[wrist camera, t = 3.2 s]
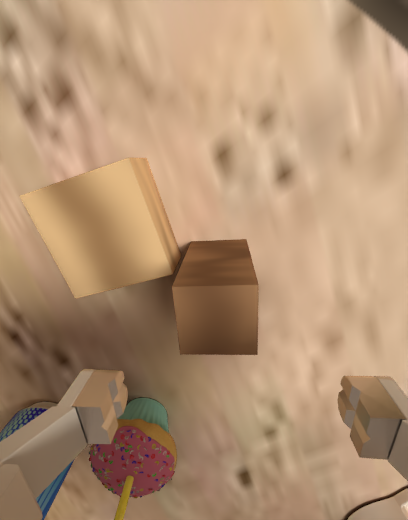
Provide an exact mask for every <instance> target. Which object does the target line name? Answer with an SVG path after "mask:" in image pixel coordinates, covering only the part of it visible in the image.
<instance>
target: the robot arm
mask: <svg viewBox="0 0 408 520" xmlns="http://www.w3.org/2000/svg"><path fill="white" fill-rule="evenodd" d="M124 378H125V377H124V373H123V371H119V370H100V369H84V370H82V371H81V372H80V373H79V374H78V376H77V377H76V379H75V380H74V382H73V383H72V384H71V386H70V387H69V389H68V390H67V392H66V393H65V395H64V396H63V398H62V399H61V400H60V402H59V403H58V405H57V406H52V407H51V408H49V409H48V410H46V411H45V412H43V413H42V414H41V415H39V416H38V417H36V418H35V419H33V420H32V421H30V422H29V423H27V424H26V425H24V426H23V427H22V428H20V429H19V430H17V431H16V432H14V433H13V434H11V435H10V436H8V437H7V438H5V439H4V440H3V441H1V442H0V520H41V519H42V517H43V515H42V511H41V509H40V507H39V505H38V503H37V501H36V498H37V497H38V496H39V495H40V494H41V493H42V492H43V491H44V490H45V489H46V488H47V487H48V486H49V485H50V484H51V483H52V481H53V480H54V479H55V478H56V477H57V476H58V475H59V474H60V473H61V472H62V471H63V470H64V469H65V468H66V467H67V466H68V465H69V464H70V463H71V462H72V461H73V460H74V459H75V458H76V457H77V456H78V455H79V454H80V453H81V451H82V450H83V449H84V448H85V447H86V446H87V444H111V442H112V440H113V437H114V435H115V433H116V430H117V428H118V422H117V419H118V418H119V417H120V416H121V415H122V414H123V413H124V410H125V407H126V403H127V398H128V391H127V387H126V386H125V385H124V384H123V381H124ZM341 386H342V388H343V390H342V391H341V392H339V394H338V409H339V412H340V415H341V418H342V420H343V422H344V423H345V424H346V425H347V426H348V427H349V428H350V429H351V433H350V438H351V440H352V442H353V444H354V446H355V448H356V451H357V453H358V455H359V457H362V458H374V459H386V460H388V462H389V463H390V464H391V465H392V466H393V467H394V468H395V469H396V470H397V471H398V472H399V473H400V474H401V475H402V476H403V477H404V478H405V479H406V480H407V481H408V397H407V396H406V395H405V393H404V392H403V391H402V390H401V388H400V387H399V386H398V384H397V383H396V382H395V381H394V379H392V378H391V377H385V376H374V377H373V376H343V378H342V380H341ZM347 520H408V488H407V489H405V490H403V491H401V492H400V493H398V494H396V495H395V496H393V497H391V498H388V499H385V500H381V501H378V502H375V503H372V504H369V505H367V506H364V507H362V508H361V509H359V510H357V511H356V512H354V513H353V514H352V515H351V516H350V517H349V518H348V519H347Z"/></svg>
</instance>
